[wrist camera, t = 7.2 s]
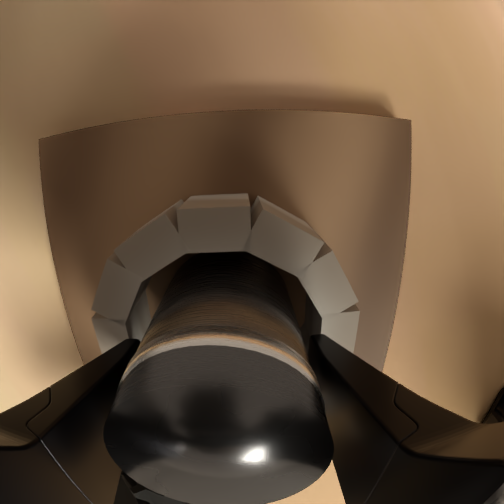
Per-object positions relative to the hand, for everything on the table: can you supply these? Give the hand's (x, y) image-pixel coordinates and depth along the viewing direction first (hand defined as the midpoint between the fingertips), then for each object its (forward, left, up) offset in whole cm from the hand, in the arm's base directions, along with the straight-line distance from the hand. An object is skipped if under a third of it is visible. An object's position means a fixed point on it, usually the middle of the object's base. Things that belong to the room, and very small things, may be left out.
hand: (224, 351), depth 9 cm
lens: (0, 0, -3) cm, 3 cm away
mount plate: (0, 0, -4) cm, 4 cm away
